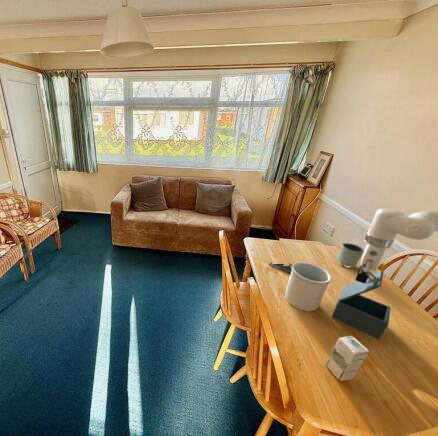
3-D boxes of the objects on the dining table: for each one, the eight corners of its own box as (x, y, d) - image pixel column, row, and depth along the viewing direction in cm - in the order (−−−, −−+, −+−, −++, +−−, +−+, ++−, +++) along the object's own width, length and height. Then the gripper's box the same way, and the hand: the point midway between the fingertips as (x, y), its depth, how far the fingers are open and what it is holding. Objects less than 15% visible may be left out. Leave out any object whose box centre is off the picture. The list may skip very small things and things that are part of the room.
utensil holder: (307, 317, 101) (319, 286, 94) (276, 296, 113) (285, 267, 106) (325, 305, 107) (338, 276, 100) (294, 286, 119) (304, 258, 112)
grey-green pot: (335, 265, 137) (342, 248, 132) (334, 257, 144) (341, 241, 139) (357, 271, 131) (366, 253, 127) (355, 263, 139) (363, 246, 134)
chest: (381, 322, 99) (390, 306, 95) (379, 339, 91) (388, 324, 88) (337, 302, 109) (343, 288, 106) (331, 317, 101) (338, 302, 98)
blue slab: (383, 272, 94) (370, 261, 96) (381, 286, 86) (367, 274, 88) (344, 288, 105) (334, 278, 107) (339, 302, 98) (328, 291, 99)
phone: (273, 257, 142) (300, 268, 132) (273, 258, 142) (299, 270, 132) (268, 262, 137) (295, 274, 127) (267, 263, 138) (294, 275, 127)
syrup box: (353, 379, 77) (371, 350, 71) (338, 382, 77) (355, 353, 71) (338, 362, 83) (353, 334, 77) (324, 365, 82) (338, 337, 76)
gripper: (390, 252, 80) (370, 292, 87) (393, 236, 90) (375, 273, 98) (362, 244, 85) (346, 283, 92) (368, 230, 95) (352, 266, 103)
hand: (361, 278), depth 95 cm, fingers closed on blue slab, 5 cm apart
